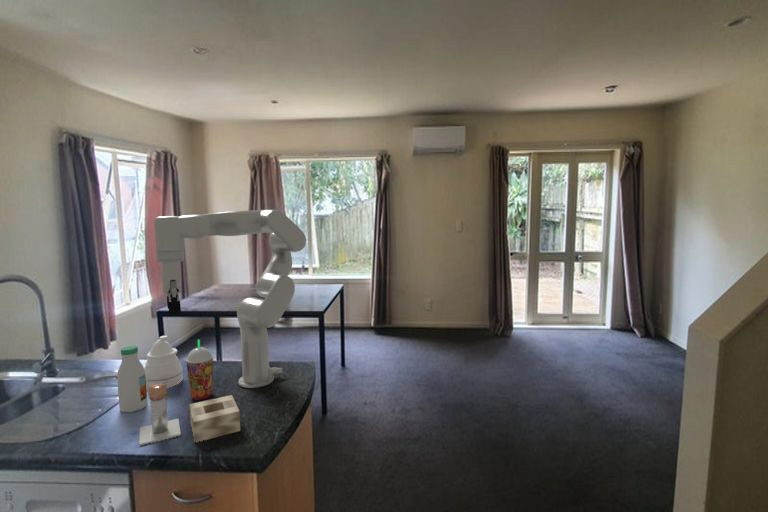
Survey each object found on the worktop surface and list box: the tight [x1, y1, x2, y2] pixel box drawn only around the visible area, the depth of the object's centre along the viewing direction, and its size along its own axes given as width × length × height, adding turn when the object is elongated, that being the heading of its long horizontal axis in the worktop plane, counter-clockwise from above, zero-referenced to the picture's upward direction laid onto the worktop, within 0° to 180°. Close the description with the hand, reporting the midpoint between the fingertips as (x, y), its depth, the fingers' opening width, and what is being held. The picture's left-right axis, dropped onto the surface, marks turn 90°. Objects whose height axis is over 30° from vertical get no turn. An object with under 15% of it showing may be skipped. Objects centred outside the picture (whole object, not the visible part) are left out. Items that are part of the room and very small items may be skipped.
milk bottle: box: [116, 345, 148, 413], centre depth 130 cm, size 8×8×20 cm
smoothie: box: [185, 339, 214, 401], centre depth 138 cm, size 8×8×20 cm
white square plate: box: [138, 418, 182, 446], centre depth 116 cm, size 10×10×1 cm
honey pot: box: [143, 335, 184, 389], centre depth 149 cm, size 13×13×18 cm
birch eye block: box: [188, 394, 241, 443], centre depth 118 cm, size 12×12×6 cm
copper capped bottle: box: [148, 384, 169, 434], centre depth 115 cm, size 4×4×13 cm
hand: (174, 311), depth 126 cm, fingers open, 9 cm apart
